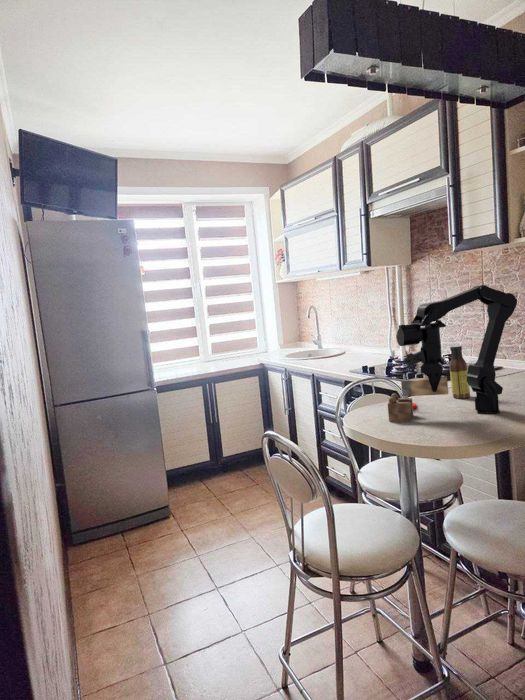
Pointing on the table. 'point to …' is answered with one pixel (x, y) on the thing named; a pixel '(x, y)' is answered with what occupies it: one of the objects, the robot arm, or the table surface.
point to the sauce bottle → (458, 374)
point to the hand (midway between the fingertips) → (434, 390)
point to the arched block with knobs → (400, 408)
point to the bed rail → (423, 387)
